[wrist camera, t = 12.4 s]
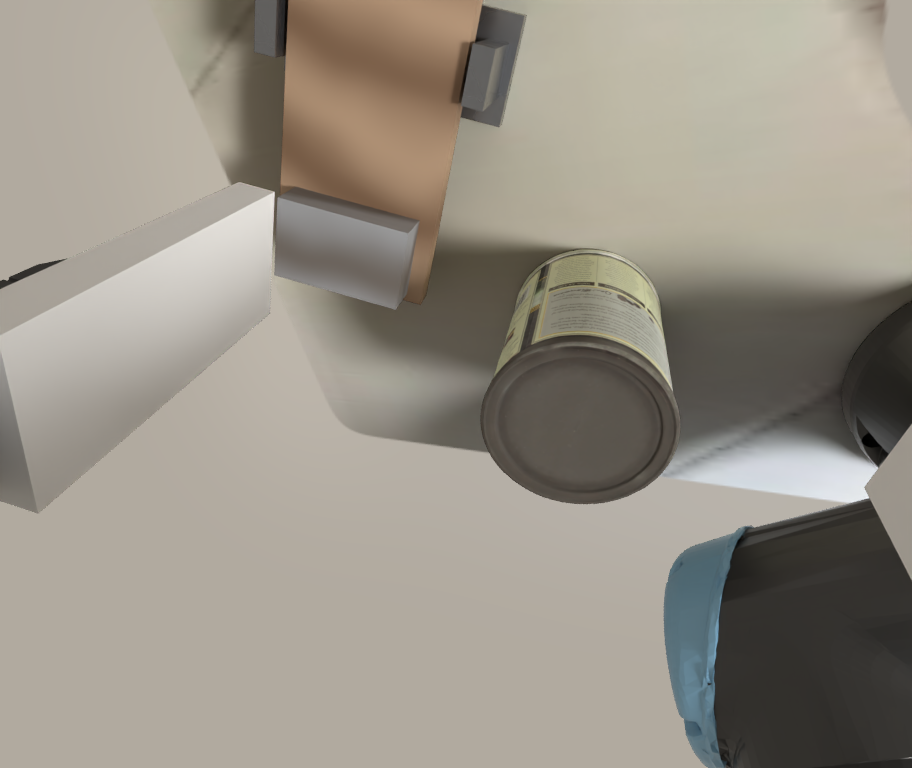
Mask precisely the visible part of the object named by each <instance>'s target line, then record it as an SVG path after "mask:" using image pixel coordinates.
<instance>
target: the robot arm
mask: <svg viewBox="0 0 912 768" xmlns="http://www.w3.org/2000/svg"><path fill="white" fill-rule="evenodd" d="M274 197H275V192H274V191H270V190H267V189H263V188H260V187H256V186H252V185H249V184H245V183H241V182H238V183H235V184H233V185H231V186H229V187H227V188H224V189H222V190H220V191H218V192H215V193H213V194H211V195H209V196H206V197H204V198H202V199H200V200H198V201H196V202H193V203H191V204H189V205H187V206H184V207H182V208H180V209H178V210H175V211H173V212H171V213H169V214H166V215H164V216H162V217H160V218H158V219H155V220H153V221H151V222H149V223H147V224H144V225H142V226H140V227H138V228H135V229H133V230H131V231H129V232H126V233H124V234H122V235H120V236H117V237H115V238H113V239H111V240H108V241H106V242H104V243H102V244H100V245H97V246H95V247H93V248H91V249H88V250H86V251H84V252H82V253H79V254H77V255H75V256H73V257H71V258H68V259H63V260H58V261H54V262H49V263H44V264H39V265H36V266H34V267H31V268H29V269H27V270H24V271H22V272H20V273H18V274H15V275H13V276H11V277H9V280H8V281H6V280H2V281H0V501H2V502H5V503H9V504H11V505H14V506H17V507H20V508H23V509H26V510H29V511H32V512H35V513H39V512H40V511H42V510H43V509H44V508H45V507H46V506H48V505H49V504H50V503H51V502H52V501H53V500H54V499H55V498H57V497H58V496H59V495H60V494H61V493H63V492H64V491H65V490H66V489H67V488H68V487H70V485H72V484H73V483H74V482H75V481H76V480H78V479H79V478H80V477H81V476H82V475H83V474H85V473H86V472H87V471H88V470H89V469H90V468H92V467H93V466H94V465H95V464H96V463H97V462H98V461H100V460H101V459H102V458H103V457H104V456H105V455H107V454H108V453H109V452H110V451H111V450H112V449H113V448H115V447H116V446H117V445H118V444H119V443H120V442H122V441H123V440H124V439H125V438H126V437H127V436H129V435H130V434H131V433H132V432H133V431H134V430H135V429H137V427H139V426H140V425H141V424H142V423H144V422H145V421H146V420H147V419H148V418H149V417H151V416H152V415H153V414H154V413H155V412H156V411H157V410H159V409H160V408H161V407H162V406H163V405H164V404H165V403H167V402H168V401H169V400H170V399H171V398H173V397H174V396H175V395H176V394H177V393H178V392H179V391H180V390H182V389H183V388H184V387H185V386H186V385H187V384H189V383H190V382H191V381H192V380H193V379H194V378H196V377H197V376H198V375H199V374H200V373H201V372H202V371H204V370H205V369H206V368H207V367H208V366H209V365H211V364H212V363H213V362H214V361H215V360H217V359H218V358H219V357H220V356H221V355H222V354H223V353H225V352H226V351H227V350H228V349H229V348H230V347H232V346H233V345H234V344H235V343H236V342H237V341H238V340H240V339H241V338H242V337H243V336H244V335H245V334H247V333H248V332H249V331H250V330H251V329H252V328H254V327H255V326H256V325H257V324H258V323H259V322H260V321H262V320H263V319H264V318H265V317H266V316H267V315H269V314H270V295H271V271H272V246H273V222H274ZM842 408H843V413H844V417H845V420H846V422H847V425H848V427H849V429H850V430H851V432H852V434H853V436H854V438H855V439H856V441H857V443H858V445H859V447H860V448H861V449H862V451H863V452H864V453H865V455H866V456H867V457H868V458H869V459H870V460H871V461H872V462H873V463H874V464H875V465H876V466H877V467H878V470H877V471H876V472H875V474H874V475H873V476H872V478H871V479H870V481H869V482H868V483H867V485H866V486H865V487H864V488H865V490H866V492H867V494H868V496H869V499H865V500H861V501H857V502H853V503H849V504H845V505H842V506H837V507H833V508H830V509H826V510H822V511H818V512H814V513H810V514H806V515H802V516H798V517H794V518H791V519H787V520H783V521H779V522H775V523H771V524H767V525H763V526H760V527H755V528H754V527H753V526H744V527H741V528H739V529H738V530H737V531H736V532H735V533H732V534H729V535H726V536H723V537H720V538H717V539H713V540H711V541H707V542H704V543H701V544H698V545H695V546H692V547H690V548H688V549H686V550H685V551H684V552H683V553H681V554H680V555H679V556H678V558H677V559H676V561H675V562H674V564H673V566H672V568H671V570H670V573H669V577H668V582H667V584H666V589H665V597H664V634H665V645H666V655H667V661H668V668H669V673H670V679H671V685H672V689H673V694H674V698H675V702H676V706H677V709H678V712H679V715H680V716H681V717H682V718H684V723H685V730H686V736H687V738H688V740H689V743H690V745H691V747H692V749H693V751H694V753H695V754H696V756H697V757H698V758H699V759H700V761H701V762H702V763H703V764H704V765H705V766H706V767H708V768H912V302H910V303H908V304H907V305H905V306H903V307H902V308H900V309H899V310H897V311H896V312H895V313H893V314H892V315H891V316H889V317H888V318H887V319H886V320H884V321H883V322H882V323H881V324H880V325H879V326H878V327H877V328H876V329H875V330H874V331H873V332H872V333H871V334H870V335H869V336H868V337H867V338H866V339H865V341H864V342H863V343H862V344H861V346H860V347H859V349H858V350H857V352H856V353H855V355H854V357H853V358H852V360H851V362H850V364H849V367H848V369H847V372H846V374H845V378H844V382H843V387H842Z"/></svg>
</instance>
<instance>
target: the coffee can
mask: <svg viewBox="0 0 912 768" xmlns="http://www.w3.org/2000/svg"><path fill="white" fill-rule="evenodd" d="M481 430H482V434H483V438H484V441H485V444H486V447H487V449H488V451H489V453H490V455H491V457H492V458H493V460H494V461H495V462H496V464H497V465H498V466H499V468H501V469H502V471H503V472H504V473H506V474H507V475H508V476H509V477H510V478H511V479H512V480H514V481H515V482H516V483H518V484H520V485H521V486H522V487H524V488H526V489H528V490H529V491H531V492H533V493H535V494H538V495H540V496H542V497H545V498H549V499H552V500H556V501H560V502H566V503H574V504H592V503H593V504H597V503H605V502H609V501H614V500H618V499H621V498H624V497H627V496H629V495H631V494H633V493H635V492H637V491H639V490H641V489H643V488H645V487H646V486H648V485H649V484H650V483H651V482H653V481H654V480H655V479H656V478H657V477H658V476H659V475H660V474H661V473H662V472H663V471H664V470H665V468H666V467H667V466H668V464H669V463H670V461H671V460H672V458H673V456H674V454H675V451H676V449H677V446H678V442H679V437H680V415H679V409H678V405H677V402H676V398H675V396H674V393H673V388H672V382H671V375H670V369H669V363H668V357H667V351H666V345H665V339H664V333H663V327H662V321H661V306H660V301H659V297H658V294H657V292H656V290H655V288H654V286H653V284H652V282H651V281H650V279H649V278H648V277H647V275H646V274H645V273H644V272H643V271H642V270H641V269H640V268H639V267H638V266H637V265H635V264H634V263H632V262H631V261H629V260H627V259H626V258H624V257H622V256H620V255H617V254H614V253H611V252H607V251H602V250H594V249H588V250H586V249H580V250H575V251H570V252H566V253H563V254H560V255H557V256H555V257H553V258H551V259H549V260H547V261H545V262H544V263H543V264H541V265H540V266H539V267H537V268H536V269H535V270H534V271H533V272H532V273H531V274H530V275H529V277H528V278H527V279H526V281H525V282H524V284H523V286H522V288H521V290H520V292H519V294H518V297H517V301H516V305H515V311H514V314H513V317H512V320H511V323H510V327H509V330H508V333H507V336H506V340H505V343H504V346H503V349H502V352H501V356H500V358H499V361H498V365H497V368H496V372H495V375H494V378H493V380H492V382H491V383H490V385H489V387H488V390H487V392H486V394H485V397H484V400H483V404H482V409H481Z"/></svg>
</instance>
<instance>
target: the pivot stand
mask: <svg viewBox="0 0 912 768" xmlns="http://www.w3.org/2000/svg"><path fill="white" fill-rule="evenodd" d="M526 16H527V15H523V14H519V13H515V12H511V11H507V10H503V9H499V8H495V7H491V6H487V5H483V4H482V8H481V13H480V18H479V23H478V28H477V34H476V39H475V43H473V45H472V50H471V56H470V61H469V66H468V71H467V77H466V82H465V87H464V92H463V97H462V103H461V106H462V112H461V117H463V118H466V119H470V120H474V121H478V122H482V123H485V124H489V125H493V126H497V127H500V126H501V125H502V121H503V117H504V112H505V108H506V103H507V99H508V95H509V90H510V86H511V82H512V77H513V73H514V69H515V64H516V60H517V55H518V51H519V47H520V42H521V38H522V34H523V29H524V25H525V21H526ZM287 21H288V0H255V33H254V52H256V53H260V54H264V55H267V56H271V57H280V56H285V67H286V44H287ZM285 67H284V71H285Z"/></svg>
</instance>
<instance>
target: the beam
mask: <svg viewBox="0 0 912 768" xmlns="http://www.w3.org/2000/svg"><path fill="white" fill-rule="evenodd" d="M482 2H483V0H288V21H287V44H286V67H285V90H284V113H283V136H282V160H281V183H280V196H279V197H278V199H277V223H276V248H275V272H274V275H276V276H279V277H283V278H286V279H290V280H293V281H297V282H300V283H304V284H307V285H311V286H314V287H318V288H321V289H325V290H328V291H332V292H335V293H339V294H342V295H346V296H349V297H353V298H356V299H360V300H363V301H367V302H370V303H374V304H377V305H381V306H384V307H388V308H391V309H395V310H396V309H397V307H398V306H399V305H400V303H401V302H402V300H405V301H409V302H412V303H416V304H419V305H421V303H422V301H423V300H424V298H425V297H426V294H427V288H428V283H429V278H430V273H431V268H432V262H433V257H434V252H435V247H436V242H437V236H438V231H439V226H440V221H441V216H442V210H443V205H444V200H445V195H446V190H447V184H448V179H449V174H450V169H451V164H452V158H453V153H454V148H455V143H456V138H457V132H458V127H459V122H460V117H461V112H462V106H461V103H462V97H463V92H464V87H465V82H466V77H467V71H468V66H469V61H470V56H471V50H472V45H473V43H475V39H476V34H477V28H478V23H479V18H480V13H481V8H482Z"/></svg>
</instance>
